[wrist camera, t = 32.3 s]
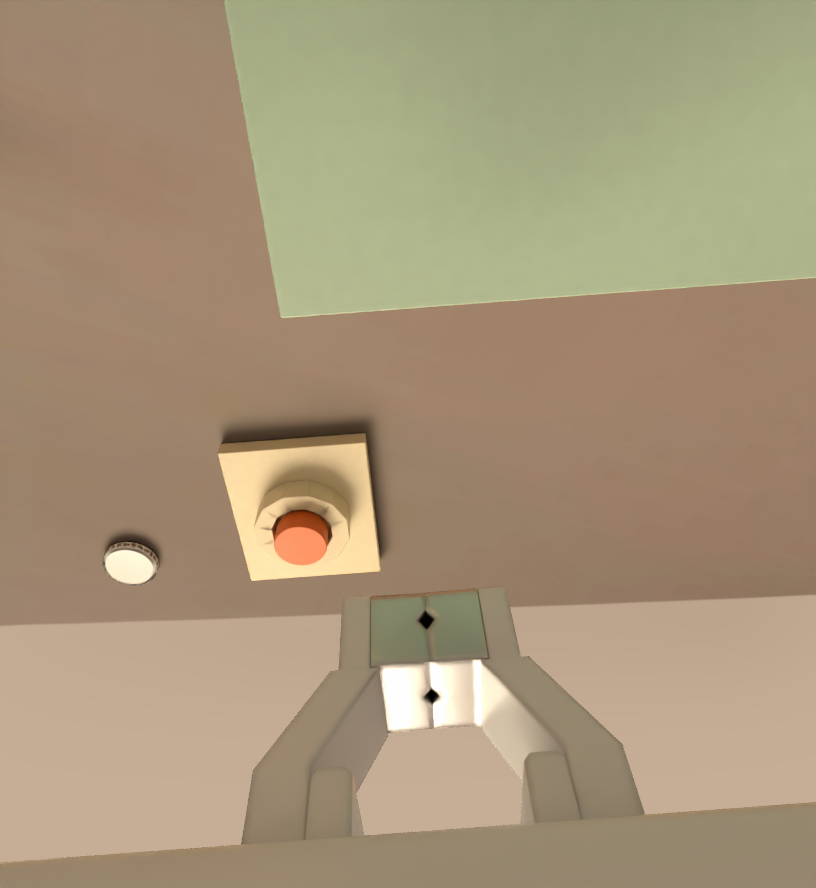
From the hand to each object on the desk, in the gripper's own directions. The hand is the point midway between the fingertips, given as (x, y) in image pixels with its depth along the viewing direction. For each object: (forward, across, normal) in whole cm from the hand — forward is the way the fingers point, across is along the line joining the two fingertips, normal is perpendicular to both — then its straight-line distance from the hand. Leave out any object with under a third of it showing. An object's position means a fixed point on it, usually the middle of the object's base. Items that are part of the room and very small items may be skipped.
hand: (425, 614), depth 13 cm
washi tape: (+31, +22, +26) cm, 46 cm away
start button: (+29, +8, +22) cm, 37 cm away
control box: (+31, +8, +22) cm, 39 cm away
